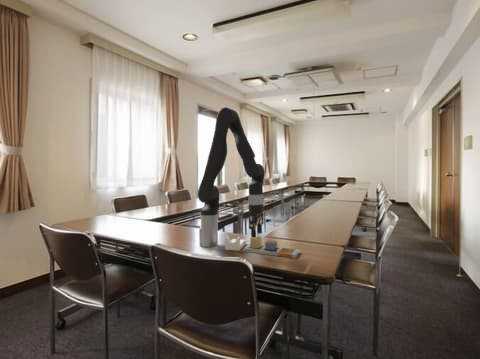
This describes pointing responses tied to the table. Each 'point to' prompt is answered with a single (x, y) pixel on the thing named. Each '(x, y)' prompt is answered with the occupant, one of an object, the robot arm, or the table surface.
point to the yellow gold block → (256, 242)
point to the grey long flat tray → (280, 251)
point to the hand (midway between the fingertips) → (256, 235)
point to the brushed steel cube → (271, 245)
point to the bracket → (234, 243)
